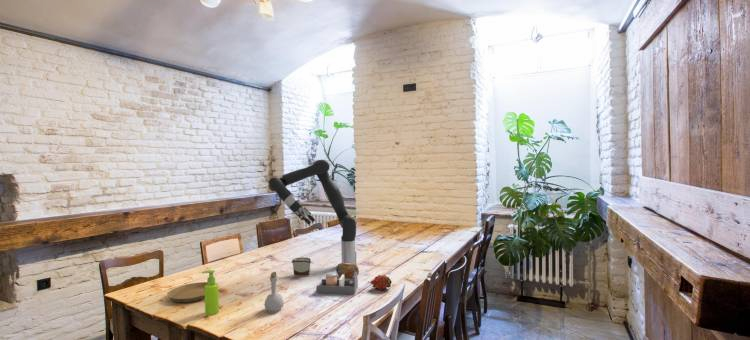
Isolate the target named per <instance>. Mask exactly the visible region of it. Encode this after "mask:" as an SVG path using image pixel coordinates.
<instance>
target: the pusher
mask: <svg viewBox="0 0 750 340" xmlns="http://www.w3.org/2000/svg"><path fill="white" fill-rule="evenodd" d="M339 277H340V276H339ZM344 280H345V277H344V275H343V274H342V276H341V277H340V278H339V286H344V285H345V283H344Z"/></svg>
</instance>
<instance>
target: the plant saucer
mask: <svg viewBox="0 0 750 340" xmlns="http://www.w3.org/2000/svg"><path fill="white" fill-rule="evenodd" d="M205 285H207V281H205V282H204V281H200V282H193V283H187V284H184V285H180V286H177V287H175V288H173V289H170V290H169V291H167V294H166V295H167V298H168V299H169V300H171V302H172V301H173V302H175V303H183V304H184V303H194V302H198V301H201V300H205Z"/></svg>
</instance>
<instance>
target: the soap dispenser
mask: <svg viewBox="0 0 750 340" xmlns="http://www.w3.org/2000/svg"><path fill="white" fill-rule="evenodd" d="M215 272H216V271H215V270H212V269H209V270H203V271H202V272H201V274H209V275H208V277H206V278H207V280H206V282H207V285H205V299H204V314H206V315H205V316H208V315H211V316H215V315H217V314H219V313H220V303H219V302H220V301H219V299H220V297H219V283H216V277H215V276H214V273H215Z"/></svg>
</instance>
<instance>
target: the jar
mask: <svg viewBox="0 0 750 340" xmlns="http://www.w3.org/2000/svg"><path fill="white" fill-rule="evenodd" d="M325 279H326V286H337V279H338V274H337V272H335V271H329V272H326V273H325Z"/></svg>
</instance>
